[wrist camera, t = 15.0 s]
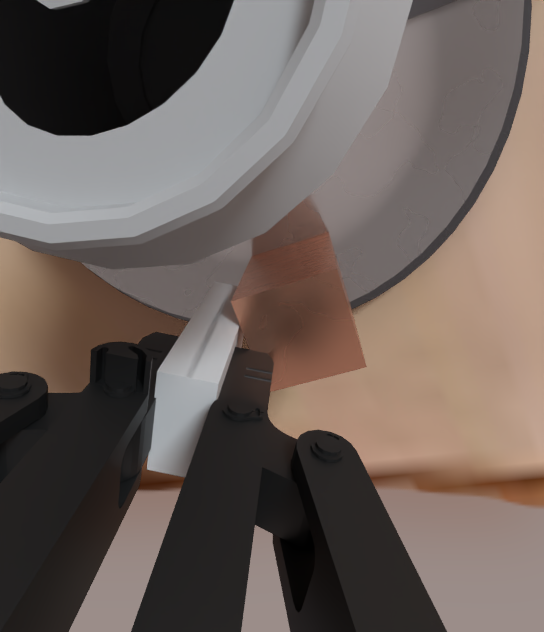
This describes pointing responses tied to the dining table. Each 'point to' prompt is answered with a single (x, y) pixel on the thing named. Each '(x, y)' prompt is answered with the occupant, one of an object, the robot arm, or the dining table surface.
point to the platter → (364, 197)
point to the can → (178, 118)
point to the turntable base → (475, 190)
